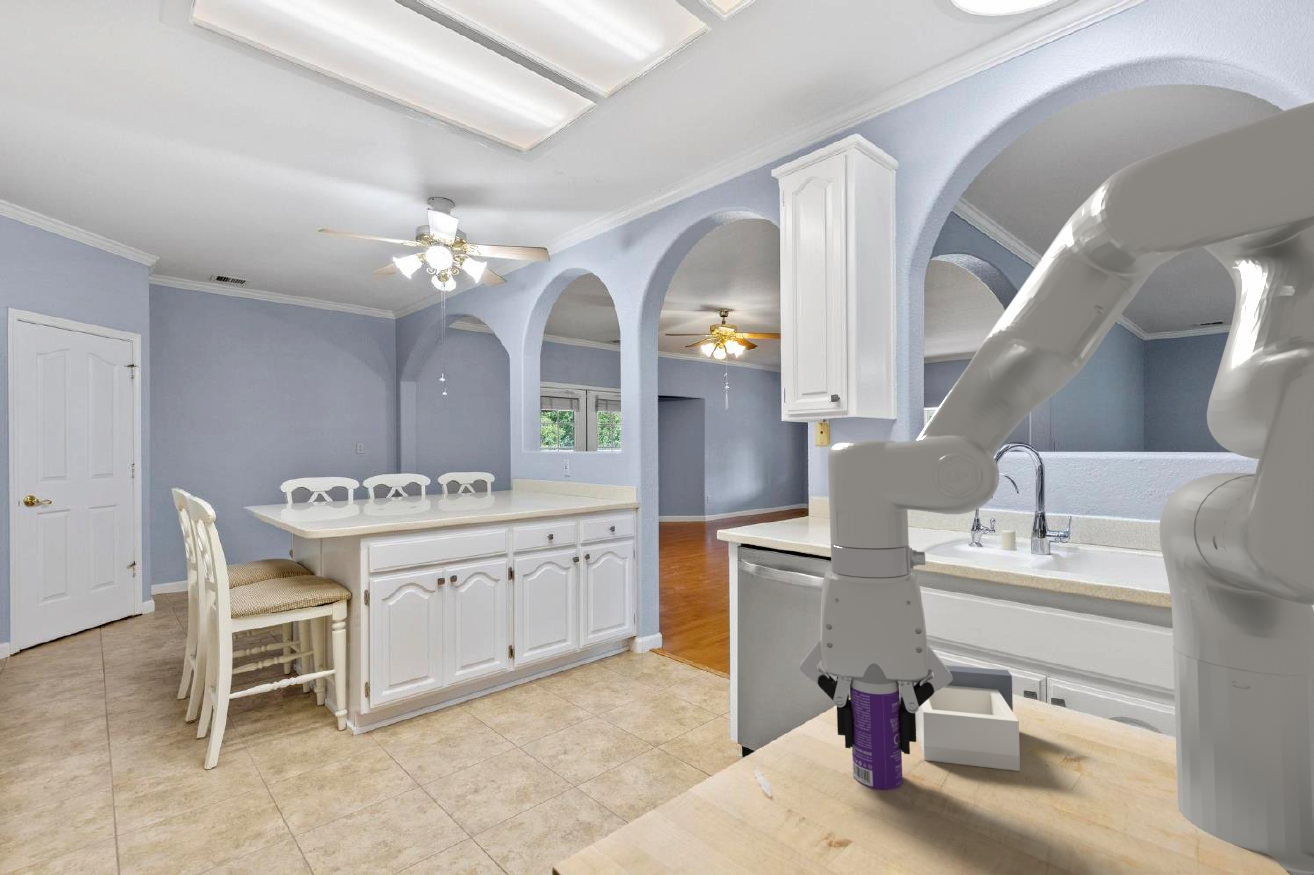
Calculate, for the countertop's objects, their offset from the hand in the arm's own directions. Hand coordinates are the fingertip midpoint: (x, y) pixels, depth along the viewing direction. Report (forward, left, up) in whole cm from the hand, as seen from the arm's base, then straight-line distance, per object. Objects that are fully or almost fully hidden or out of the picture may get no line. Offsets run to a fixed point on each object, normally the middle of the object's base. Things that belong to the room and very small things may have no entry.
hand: (876, 743), depth 64 cm
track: (-9, -6, -5) cm, 12 cm away
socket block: (-9, -9, -3) cm, 14 cm away
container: (0, 0, -5) cm, 5 cm away
